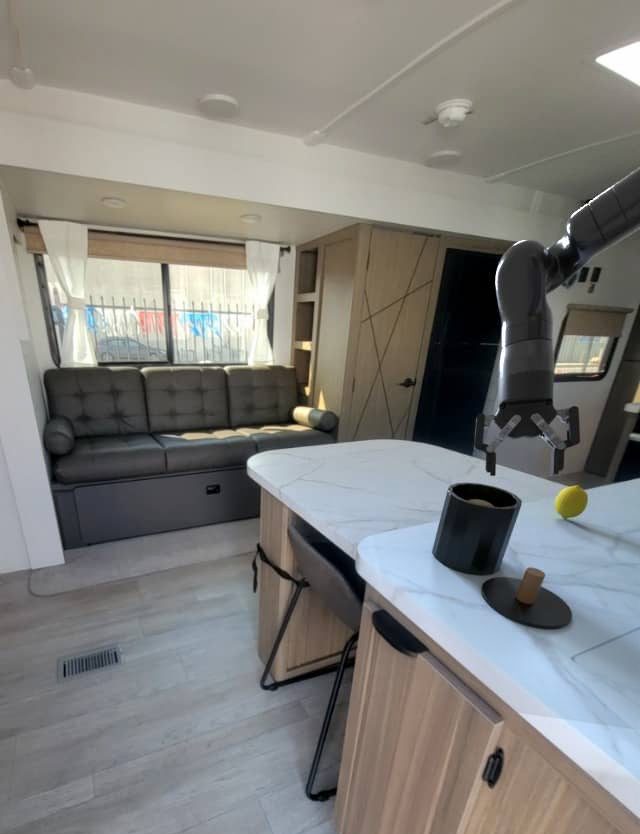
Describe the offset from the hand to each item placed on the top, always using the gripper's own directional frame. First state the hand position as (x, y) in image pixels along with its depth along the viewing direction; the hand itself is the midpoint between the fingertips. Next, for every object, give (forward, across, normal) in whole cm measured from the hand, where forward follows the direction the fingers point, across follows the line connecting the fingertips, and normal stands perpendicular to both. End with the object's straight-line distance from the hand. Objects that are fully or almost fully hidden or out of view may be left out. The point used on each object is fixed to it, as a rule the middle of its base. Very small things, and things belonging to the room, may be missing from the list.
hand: (522, 475), depth 66 cm
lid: (+20, 0, -6) cm, 21 cm away
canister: (+15, -8, +3) cm, 18 cm away
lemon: (+8, +12, +33) cm, 36 cm away
